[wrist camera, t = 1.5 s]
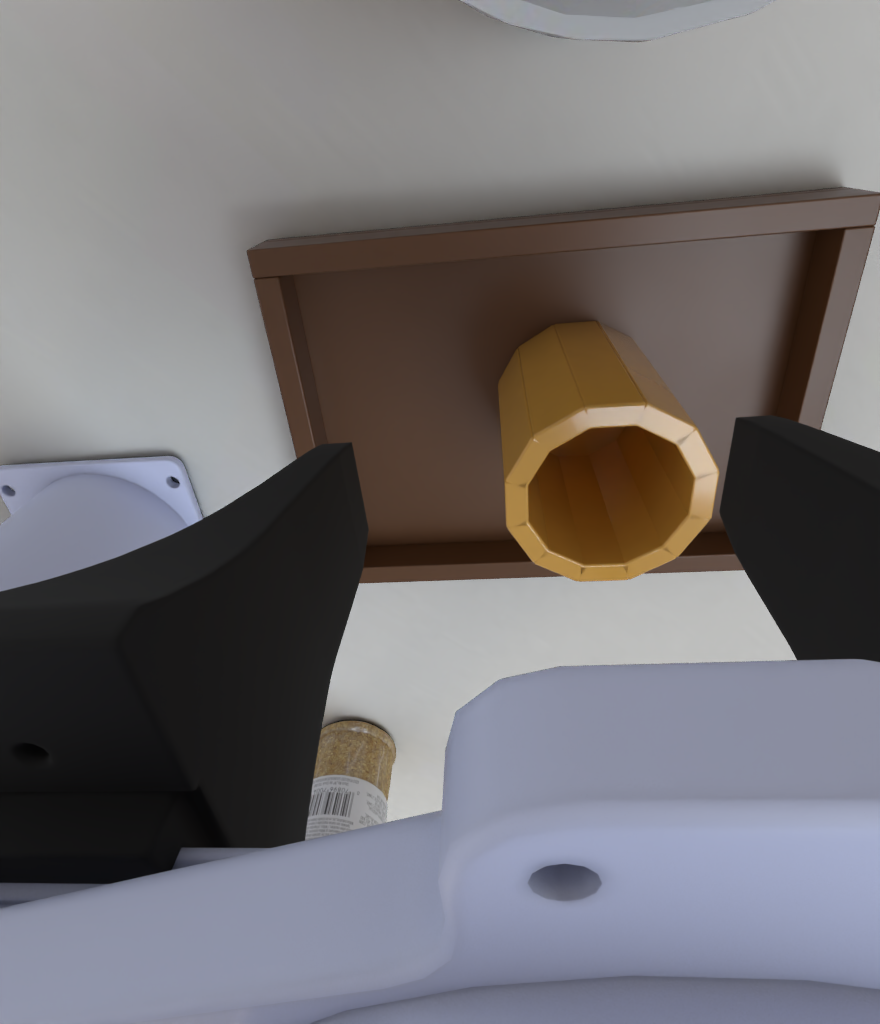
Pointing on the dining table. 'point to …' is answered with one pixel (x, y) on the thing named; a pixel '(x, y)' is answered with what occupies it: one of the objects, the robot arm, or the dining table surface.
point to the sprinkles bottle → (350, 779)
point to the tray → (527, 312)
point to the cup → (598, 456)
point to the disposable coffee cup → (614, 16)
